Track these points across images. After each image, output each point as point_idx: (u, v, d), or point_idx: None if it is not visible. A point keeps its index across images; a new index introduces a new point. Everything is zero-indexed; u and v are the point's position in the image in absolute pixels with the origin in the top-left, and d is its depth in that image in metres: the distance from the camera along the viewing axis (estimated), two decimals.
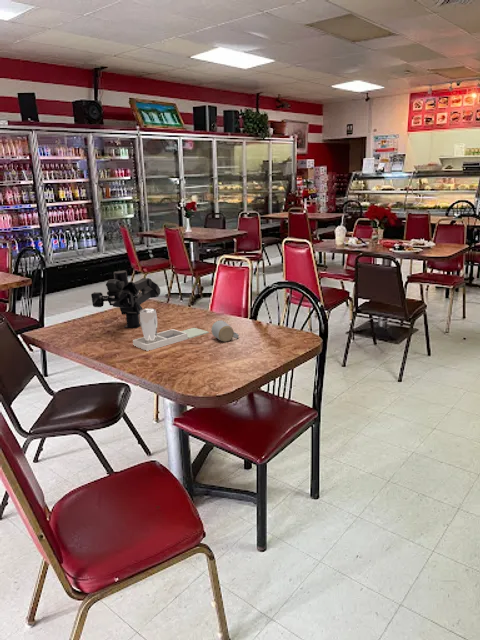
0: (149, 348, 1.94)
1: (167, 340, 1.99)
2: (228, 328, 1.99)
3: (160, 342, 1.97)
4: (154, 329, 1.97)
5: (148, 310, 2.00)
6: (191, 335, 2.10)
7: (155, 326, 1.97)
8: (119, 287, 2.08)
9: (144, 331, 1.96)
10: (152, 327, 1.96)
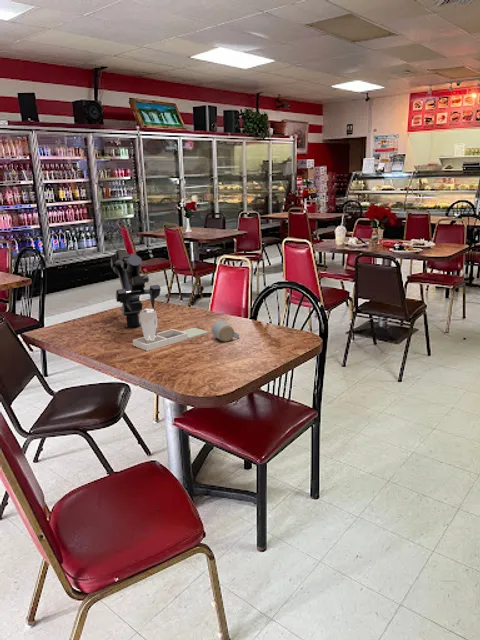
0: (149, 348, 1.94)
1: (167, 340, 1.99)
2: (228, 328, 1.99)
3: (160, 342, 1.97)
4: (154, 329, 1.97)
5: (148, 310, 2.00)
6: (191, 335, 2.10)
7: (155, 326, 1.97)
8: (145, 282, 2.05)
9: (144, 331, 1.96)
10: (152, 327, 1.96)
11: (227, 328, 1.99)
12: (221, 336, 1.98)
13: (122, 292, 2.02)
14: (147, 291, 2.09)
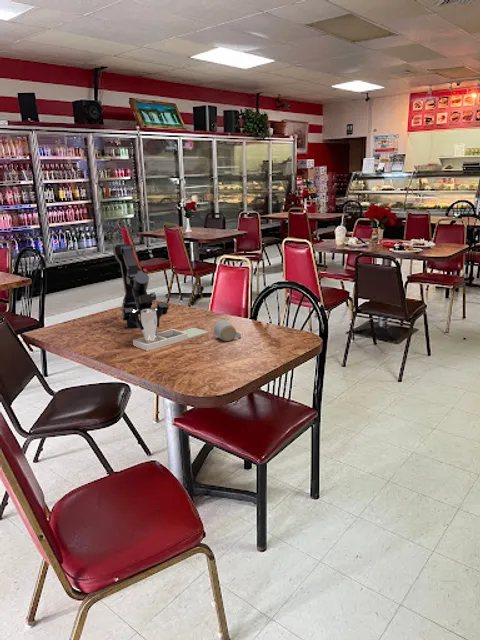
0: (149, 348, 1.94)
1: (167, 340, 1.99)
2: (230, 328, 1.99)
3: (160, 342, 1.97)
4: (154, 329, 1.97)
5: (148, 310, 2.00)
6: (191, 335, 2.10)
7: (155, 326, 1.97)
8: (153, 300, 1.99)
9: (144, 331, 1.96)
10: (152, 327, 1.96)
11: (229, 328, 1.99)
12: (223, 336, 1.99)
13: (129, 311, 1.95)
14: None
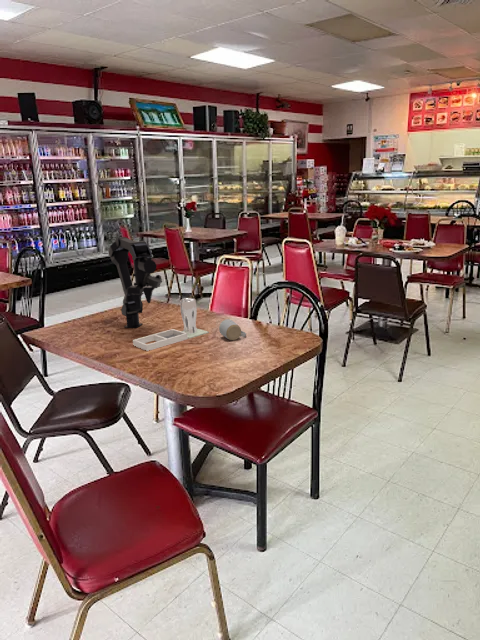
0: (149, 348, 1.94)
1: (167, 340, 1.99)
2: (236, 327, 2.00)
3: (160, 342, 1.97)
4: None
5: (183, 300, 2.12)
6: (191, 335, 2.10)
7: (196, 313, 2.12)
8: None
9: (189, 319, 2.09)
10: (195, 314, 2.11)
11: (234, 327, 2.00)
12: (228, 335, 2.00)
13: (141, 291, 2.04)
14: (147, 285, 2.15)
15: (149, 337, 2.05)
